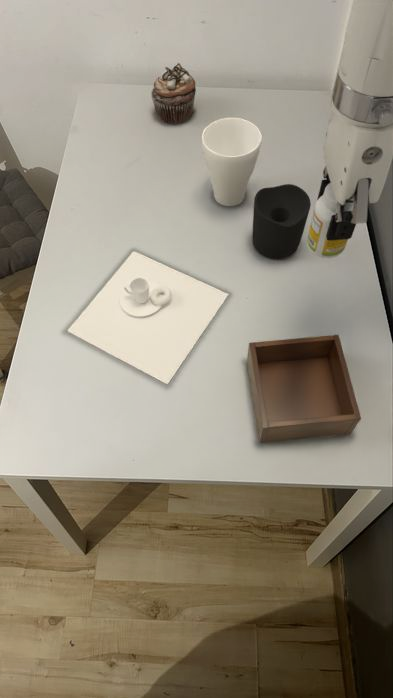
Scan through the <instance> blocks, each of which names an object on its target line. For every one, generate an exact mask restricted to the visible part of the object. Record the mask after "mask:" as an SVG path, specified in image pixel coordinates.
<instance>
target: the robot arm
mask: <svg viewBox="0 0 393 698" xmlns="http://www.w3.org/2000/svg"><path fill="white" fill-rule="evenodd" d="M349 16H350V17H349V21H348V24H347V25H348V26H347V31H346V33H345V34H346V35H345V39H344V43H343V47H342V52H341V55H340V56H341V57H340V61H339V66H338V69H337V72H336V78H335V82H334V85H333V86H334V87H333V91H332V94H331V95H332V96H331V100H330V104H331V108H332V111H331V113H330V117H329V120H328V121H329V122H328V125H327V128H326V132H325V137H324V142H323V150H322V153H323V159H324V165H325V166H324V168H323V171H322V177H323V179H322V180H321V182H320V187H319V191H318V195H317V199H316V201H317V200H318V199H319V198H320V197H321V196H323V194H324V191H325V188H326V186H327V185H328V184H329V183H331V185H332V189H333V192H334V195H335V198H336V200H337V207H336V214H335V215H332V217H331V221H330V224H329V228H328V231H327V234H326V238H327V240H344V239H348V240H350V239H352V237H353V234H354V231H355V228H356V226H357V225H358V224H366V223H367V222H368V207H369V206H368V204H376V203H378V201H379V200H380V198H381V195H382V192H383V190H384V187H385V184H386V181H387V178H388V175H389V173H390V172H389V171H390V168H391V165H392V161H393V0H353V3H352V7H351V11H350V15H349ZM353 202H354V204H353V211H344V205H345V203H353Z"/></svg>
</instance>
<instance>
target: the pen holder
mask: <svg viewBox="0 0 393 698" xmlns="http://www.w3.org/2000/svg"><path fill="white" fill-rule="evenodd" d="M310 210H311V198H310V196H309V194H308V193H307V192H306V191H305V189H303V188H301V187H300V186H298V185H295V184H292V183H287V184H285V183H284V184H281V185H276V186H270V187H263V188H261V189H259V190H258V191H257V192H256V193H255V196H254V198H253V214H252V215H253V216H252V237H251V239H252V245H253V248H254V250H255V251H256V252H257V253H258V254H260V255H261V256H263V257H265V258H267V259H270V260H283V259H284V260H285V259H287V258H289V257H292V256H293V255H294V254H295V253H296V252H297V251H298V249H299V247H300V244H301V241H302V238H303V234H304V231H305V227H306V224H307V220H308V217H309V213H310Z"/></svg>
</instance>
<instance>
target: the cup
mask: <svg viewBox="0 0 393 698" xmlns="http://www.w3.org/2000/svg"><path fill="white" fill-rule="evenodd" d="M262 140H263V136H262V133H261V130H260V129H259V128H258V126H257V125H256V124H254V123H253V122H252V121H249V120H246V119H243V118H241V117H224V118H219V119H216V120H215V121H213V122H211V123H209V124H208V125H207V126H206V127H205V128H204V129H203V131H202V134H201V145H202V146H201V147H202V154H203V157H204V162H205V165H206V168H207V171H208V174H209V177H210V181H211V184H212V185H211V186H212V189H213V197H214V200H215V201H216V203H218V204H219V205H222V206H225V207H235V206H237V205H240V204H241V203H242V202H243V201H244V200H245V197H246V191H247V187H248V185H249V181H250V179H251V177H252V175H253V172H254V170H255V167H256V164H257V161H258V158H259V154H260V152H261V151H260V150H261V146H262Z"/></svg>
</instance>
